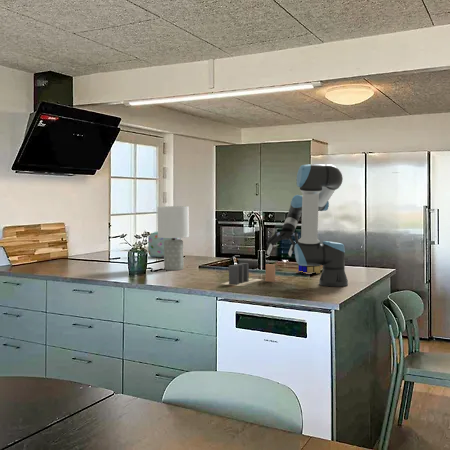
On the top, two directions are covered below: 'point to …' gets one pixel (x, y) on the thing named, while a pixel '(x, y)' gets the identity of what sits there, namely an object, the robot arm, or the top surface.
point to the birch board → (244, 282)
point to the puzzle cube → (310, 268)
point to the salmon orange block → (270, 272)
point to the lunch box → (156, 245)
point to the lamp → (173, 233)
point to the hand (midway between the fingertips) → (278, 254)
